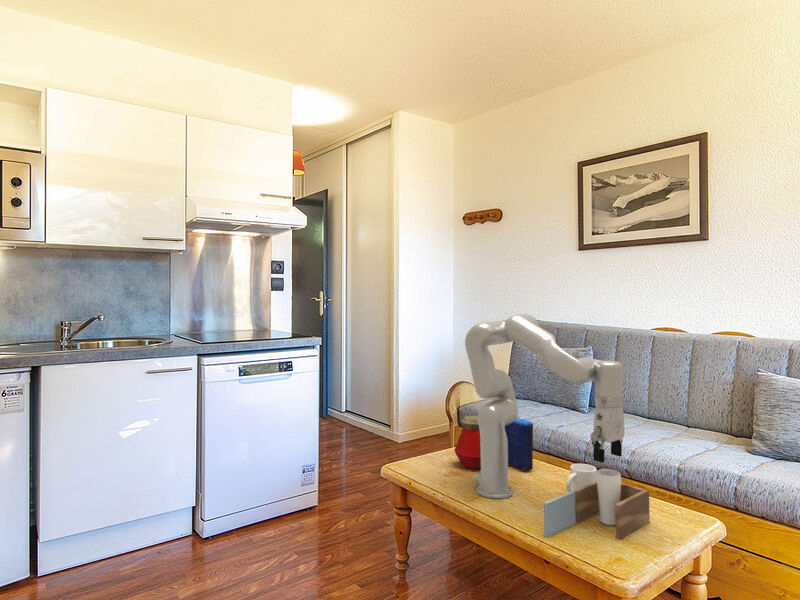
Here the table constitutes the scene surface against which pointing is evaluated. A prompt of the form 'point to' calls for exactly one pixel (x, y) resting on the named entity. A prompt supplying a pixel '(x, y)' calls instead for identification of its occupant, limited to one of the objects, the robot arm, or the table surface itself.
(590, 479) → the mug
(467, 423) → the red faceted jar
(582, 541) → the table surface
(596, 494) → the u-shaped wooden frame
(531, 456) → the book
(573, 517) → the thin blue-gray plank
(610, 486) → the drinking glass
